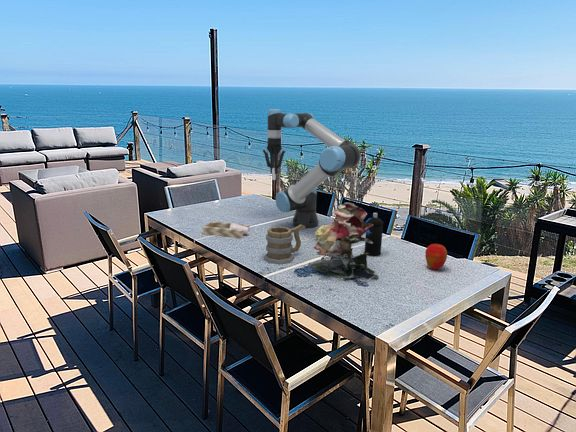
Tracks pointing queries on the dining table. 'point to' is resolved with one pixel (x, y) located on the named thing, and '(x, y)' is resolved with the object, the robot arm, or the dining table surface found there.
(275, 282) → the dining table surface
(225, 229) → the braided bread loaf
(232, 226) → the smoothie
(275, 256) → the tankard
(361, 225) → the rose bouquet
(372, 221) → the aerosol can
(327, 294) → the dining table surface
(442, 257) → the apple
